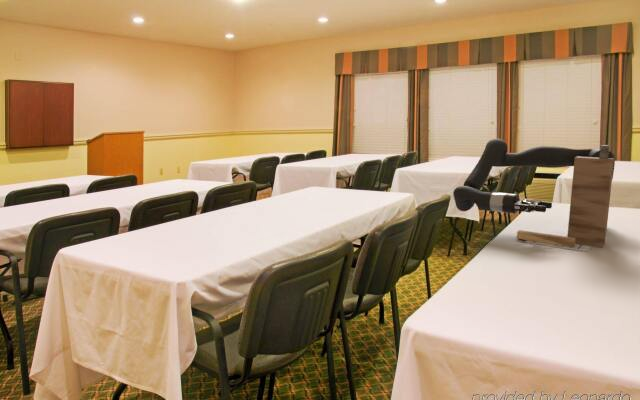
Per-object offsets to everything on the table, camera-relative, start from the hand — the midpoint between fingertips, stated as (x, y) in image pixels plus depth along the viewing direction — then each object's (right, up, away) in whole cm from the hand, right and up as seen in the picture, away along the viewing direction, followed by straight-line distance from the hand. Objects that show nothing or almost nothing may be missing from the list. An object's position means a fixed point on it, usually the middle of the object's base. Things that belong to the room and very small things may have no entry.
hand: (548, 207), depth 189 cm
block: (0, -13, +3) cm, 13 cm away
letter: (+3, -14, 0) cm, 14 cm away
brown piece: (+15, -14, +2) cm, 20 cm away
